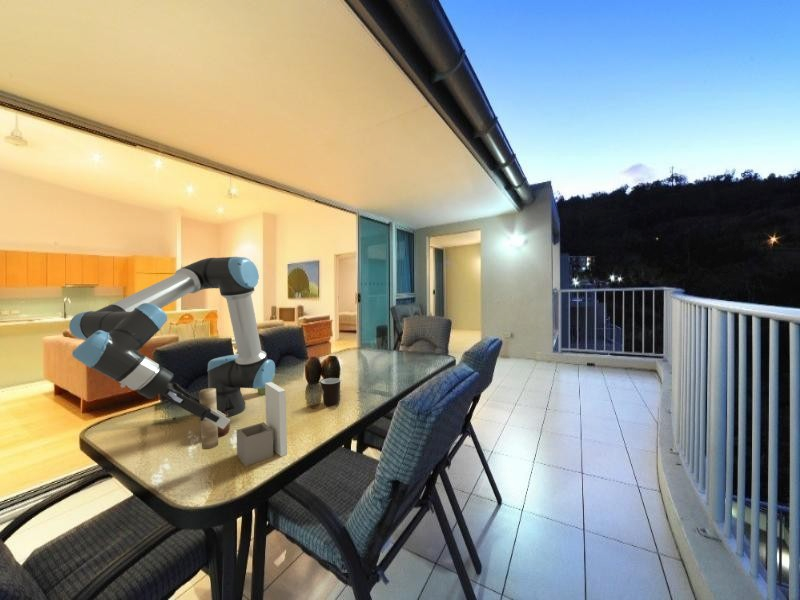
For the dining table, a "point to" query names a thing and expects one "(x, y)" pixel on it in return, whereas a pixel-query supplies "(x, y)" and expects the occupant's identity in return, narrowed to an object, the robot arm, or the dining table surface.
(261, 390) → the plant pot
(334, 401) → the coffee mug
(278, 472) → the dining table surface
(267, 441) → the cup bracket
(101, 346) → the robot arm
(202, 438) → the oak rail
